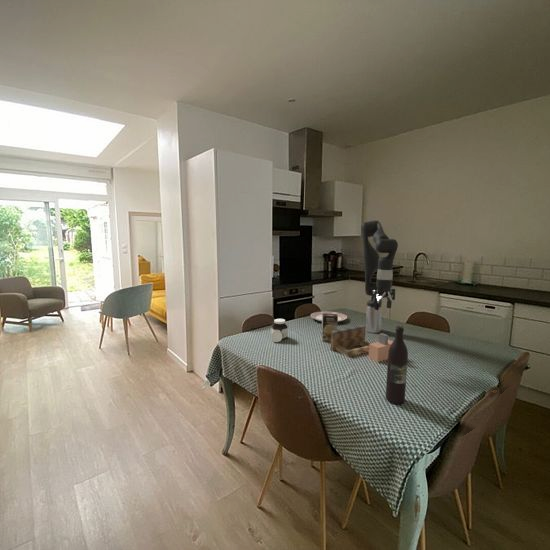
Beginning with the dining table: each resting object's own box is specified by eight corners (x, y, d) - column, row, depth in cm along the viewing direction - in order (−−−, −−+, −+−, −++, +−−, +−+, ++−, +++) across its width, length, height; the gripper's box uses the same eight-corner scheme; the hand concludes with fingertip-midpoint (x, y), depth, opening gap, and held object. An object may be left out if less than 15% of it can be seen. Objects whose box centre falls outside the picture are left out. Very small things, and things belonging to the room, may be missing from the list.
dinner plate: (309, 314, 240) (309, 310, 239) (343, 314, 239) (343, 310, 238) (312, 325, 213) (312, 320, 212) (350, 325, 212) (350, 321, 211)
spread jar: (284, 335, 190) (285, 317, 189) (291, 341, 180) (291, 322, 178) (267, 337, 187) (267, 319, 185) (272, 343, 176) (272, 324, 174)
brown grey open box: (361, 342, 178) (362, 324, 177) (377, 349, 168) (378, 331, 166) (330, 349, 167) (330, 331, 166) (344, 357, 157) (345, 337, 155)
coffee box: (321, 341, 180) (322, 315, 178) (321, 337, 186) (321, 313, 184) (337, 342, 179) (337, 316, 177) (335, 338, 185) (336, 313, 183)
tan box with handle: (387, 353, 163) (388, 330, 161) (396, 357, 158) (397, 334, 156) (368, 358, 156) (369, 334, 155) (377, 362, 151) (378, 338, 149)
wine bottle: (385, 402, 115) (390, 328, 111) (385, 393, 122) (390, 323, 118) (405, 406, 113) (410, 331, 109) (404, 397, 119) (409, 325, 115)
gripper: (389, 276, 158) (387, 306, 160) (368, 277, 152) (367, 308, 154) (400, 278, 151) (398, 309, 153) (379, 280, 145) (377, 312, 147)
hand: (382, 308), depth 154 cm, fingers open, 8 cm apart
